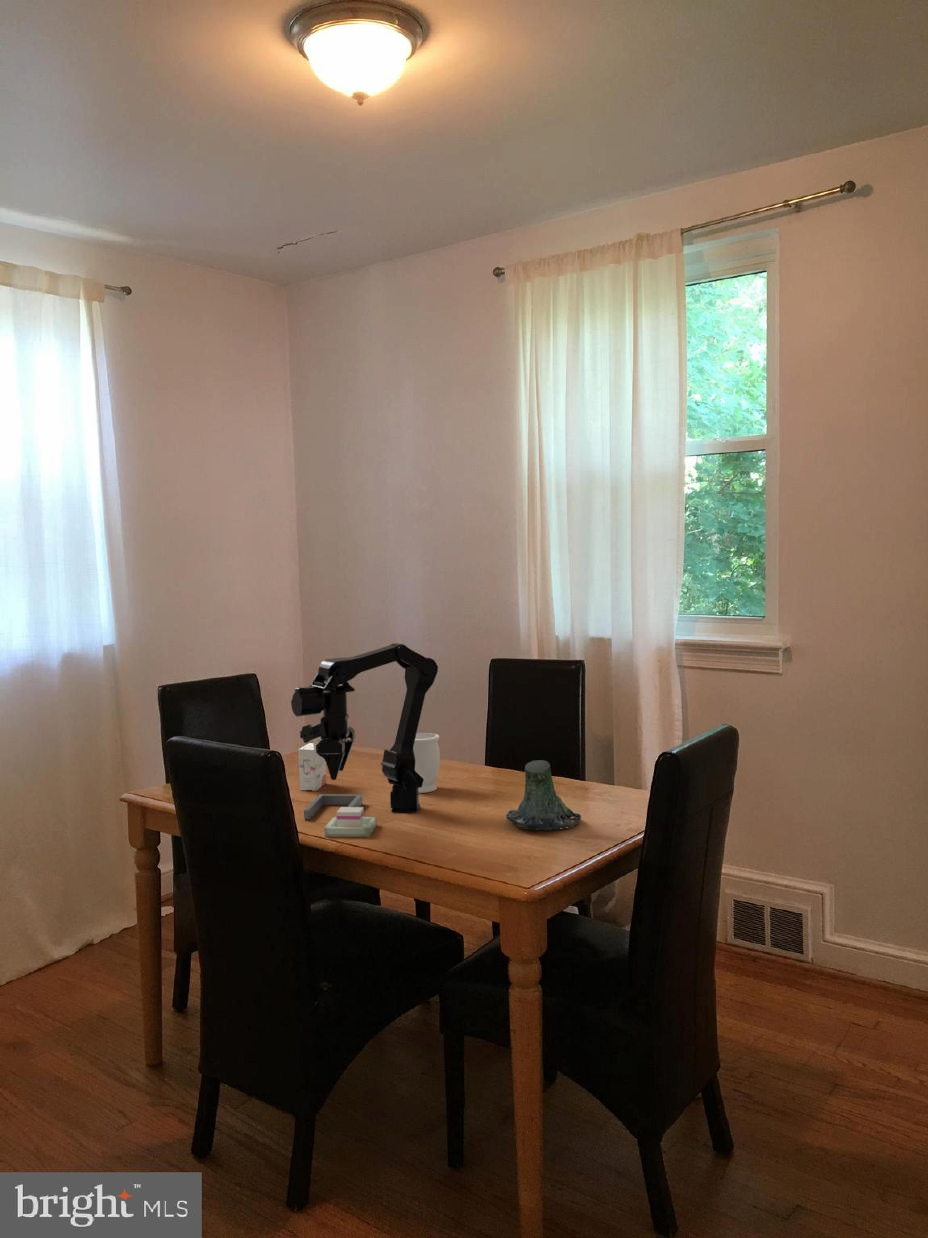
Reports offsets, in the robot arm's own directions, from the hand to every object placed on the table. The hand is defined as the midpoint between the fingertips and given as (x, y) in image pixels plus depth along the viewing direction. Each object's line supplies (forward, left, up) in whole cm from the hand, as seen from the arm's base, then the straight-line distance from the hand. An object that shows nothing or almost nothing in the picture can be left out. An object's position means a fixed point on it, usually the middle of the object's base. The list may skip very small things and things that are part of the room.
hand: (337, 775), depth 236 cm
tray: (-4, +6, -12) cm, 14 cm away
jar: (-15, -33, -12) cm, 38 cm away
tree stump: (-50, -3, -12) cm, 51 cm away
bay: (+4, -9, -12) cm, 16 cm away
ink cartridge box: (+16, -35, -12) cm, 40 cm away
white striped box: (-4, +6, -11) cm, 14 cm away
